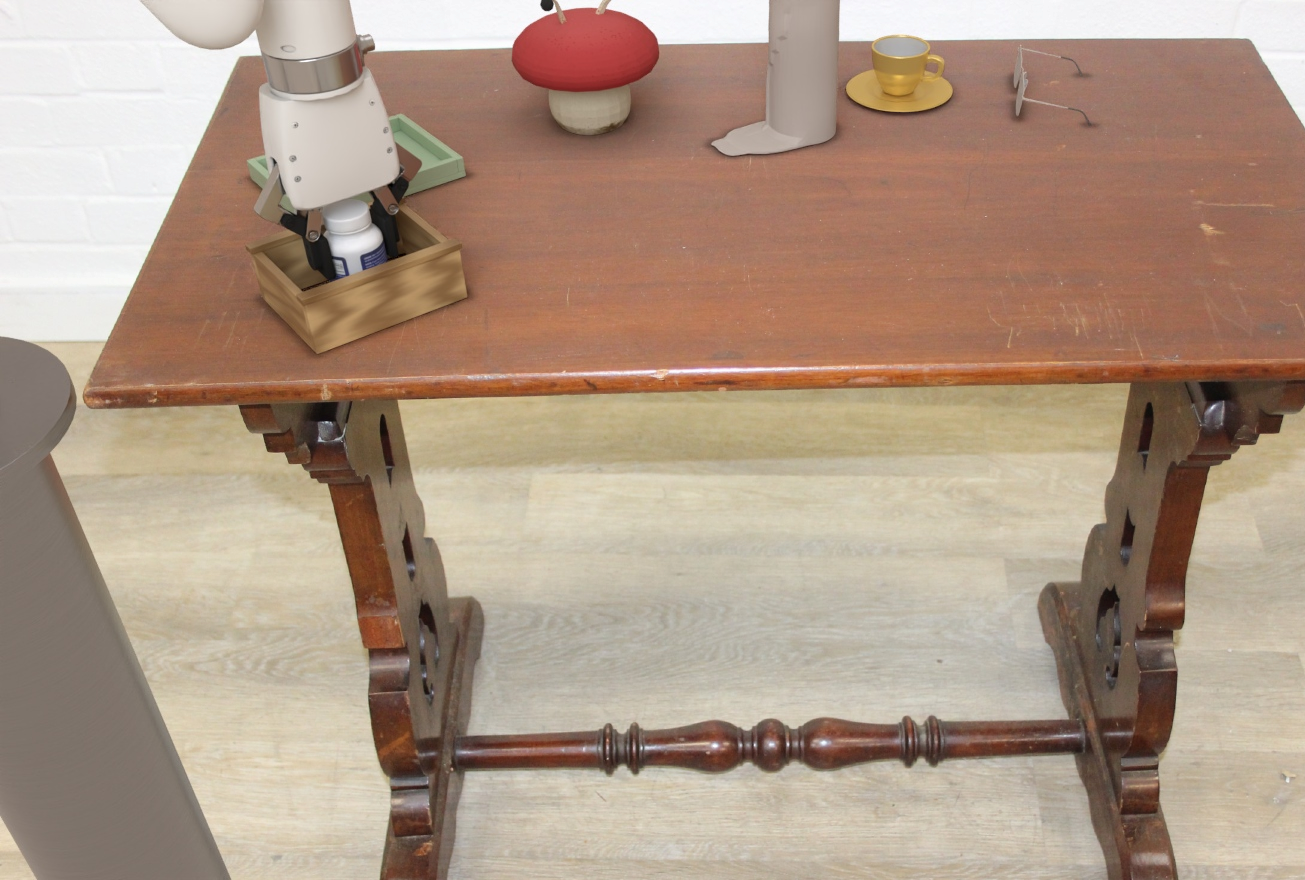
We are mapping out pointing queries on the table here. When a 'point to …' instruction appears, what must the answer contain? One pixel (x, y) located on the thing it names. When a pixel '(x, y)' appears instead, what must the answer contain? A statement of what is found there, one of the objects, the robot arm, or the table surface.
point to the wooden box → (359, 284)
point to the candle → (795, 80)
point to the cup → (901, 77)
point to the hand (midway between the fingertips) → (356, 260)
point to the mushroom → (586, 63)
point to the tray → (434, 154)
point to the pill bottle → (352, 237)
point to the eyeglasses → (1024, 82)
